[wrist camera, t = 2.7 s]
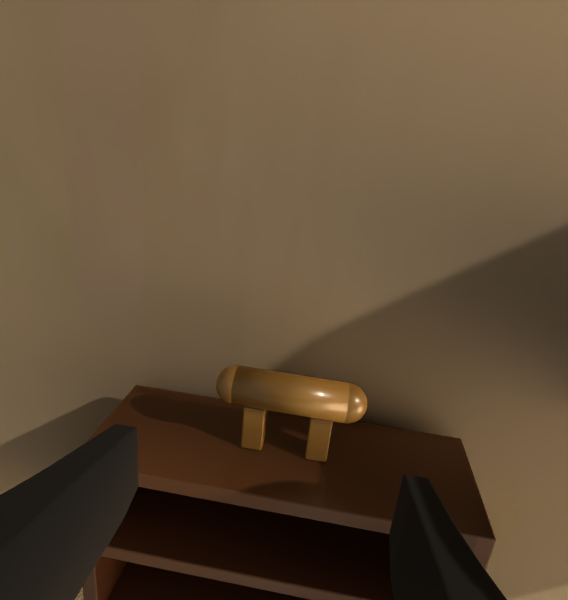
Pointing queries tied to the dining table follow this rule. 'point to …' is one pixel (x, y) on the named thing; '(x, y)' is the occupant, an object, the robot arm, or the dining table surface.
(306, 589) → the drawer
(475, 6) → the dining table surface
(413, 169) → the dining table surface
